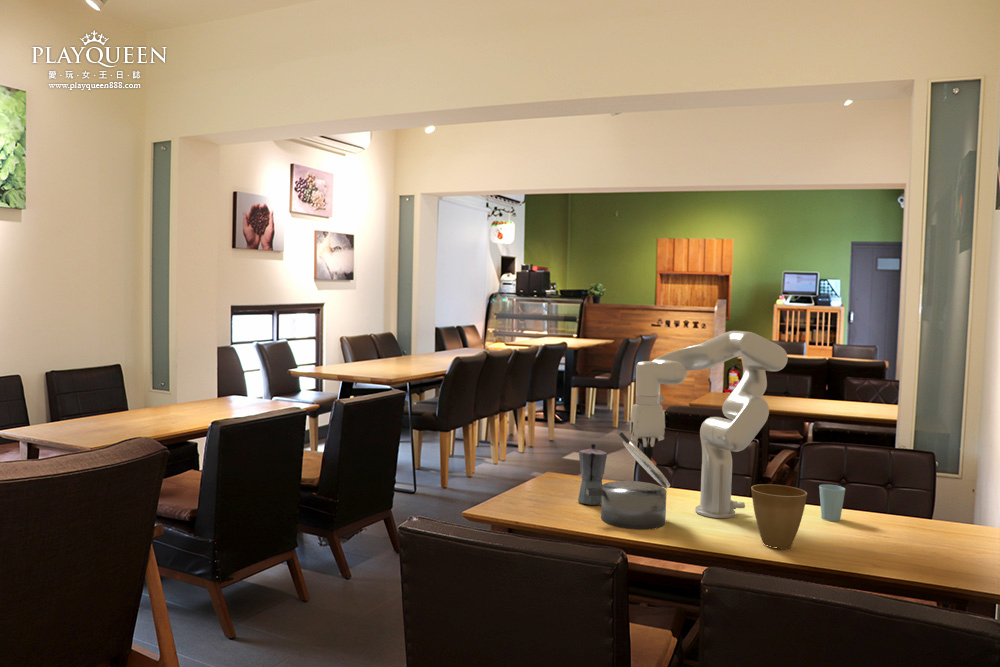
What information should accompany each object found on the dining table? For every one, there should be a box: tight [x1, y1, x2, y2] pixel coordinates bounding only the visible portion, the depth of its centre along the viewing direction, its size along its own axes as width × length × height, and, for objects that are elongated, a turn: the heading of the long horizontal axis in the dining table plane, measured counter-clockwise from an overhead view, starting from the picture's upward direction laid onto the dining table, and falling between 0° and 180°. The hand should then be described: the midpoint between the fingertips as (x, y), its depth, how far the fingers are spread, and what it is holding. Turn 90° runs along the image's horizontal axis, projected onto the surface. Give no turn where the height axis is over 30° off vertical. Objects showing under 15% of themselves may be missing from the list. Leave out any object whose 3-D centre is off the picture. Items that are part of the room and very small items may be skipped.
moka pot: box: [577, 443, 608, 506], centre depth 247 cm, size 10×15×20 cm, turn 174°
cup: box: [818, 484, 846, 522], centre depth 236 cm, size 8×8×10 cm
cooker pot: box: [586, 480, 668, 531], centre depth 228 cm, size 25×20×10 cm
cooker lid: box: [616, 430, 671, 490], centre depth 228 cm, size 23×20×3 cm
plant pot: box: [750, 483, 808, 549], centre depth 207 cm, size 15×15×16 cm
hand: (647, 458), depth 229 cm, fingers closed
